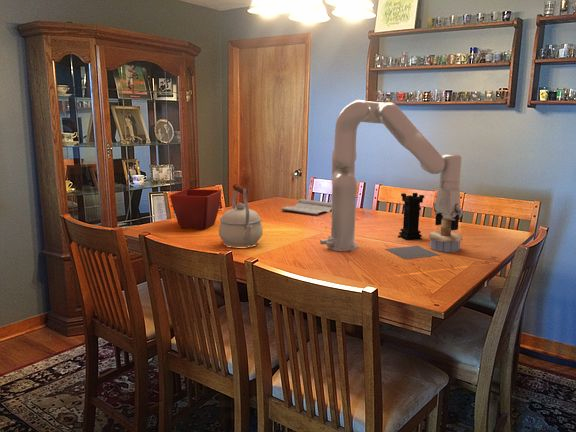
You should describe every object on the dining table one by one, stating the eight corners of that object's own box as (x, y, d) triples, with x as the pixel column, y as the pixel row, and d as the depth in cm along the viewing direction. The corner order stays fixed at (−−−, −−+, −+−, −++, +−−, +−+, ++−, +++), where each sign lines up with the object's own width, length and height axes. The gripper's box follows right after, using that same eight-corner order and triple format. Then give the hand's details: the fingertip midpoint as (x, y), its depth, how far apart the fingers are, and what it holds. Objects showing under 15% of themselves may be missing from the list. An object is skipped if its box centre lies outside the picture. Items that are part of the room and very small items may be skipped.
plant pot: (170, 229, 235) (168, 194, 231) (187, 221, 253) (186, 188, 249) (208, 232, 230) (207, 196, 227) (222, 223, 248) (222, 190, 245)
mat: (280, 212, 277) (280, 204, 276) (302, 206, 297) (302, 198, 296) (317, 217, 265) (317, 208, 265) (336, 210, 285) (336, 202, 284)
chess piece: (406, 241, 215) (408, 196, 210) (397, 237, 222) (399, 193, 218) (422, 240, 217) (425, 195, 213) (413, 236, 224) (416, 192, 220)
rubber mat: (405, 260, 187) (405, 259, 187) (384, 250, 201) (384, 249, 201) (440, 256, 193) (440, 255, 192) (417, 246, 206) (417, 245, 206)
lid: (442, 243, 193) (443, 224, 191) (422, 235, 205) (423, 217, 203) (469, 240, 197) (470, 221, 196) (448, 233, 209) (449, 215, 208)
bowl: (442, 254, 195) (443, 242, 194) (424, 247, 205) (425, 235, 204) (465, 252, 199) (466, 240, 198) (447, 245, 209) (447, 233, 208)
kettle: (213, 240, 216) (212, 183, 211) (254, 236, 222) (253, 181, 217) (227, 255, 193) (226, 192, 188) (272, 250, 199) (272, 189, 194)
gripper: (428, 182, 203) (425, 223, 207) (456, 189, 187) (452, 232, 191) (443, 182, 206) (440, 222, 209) (472, 188, 190) (468, 231, 194)
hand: (446, 227), depth 200 cm, fingers open, 9 cm apart
